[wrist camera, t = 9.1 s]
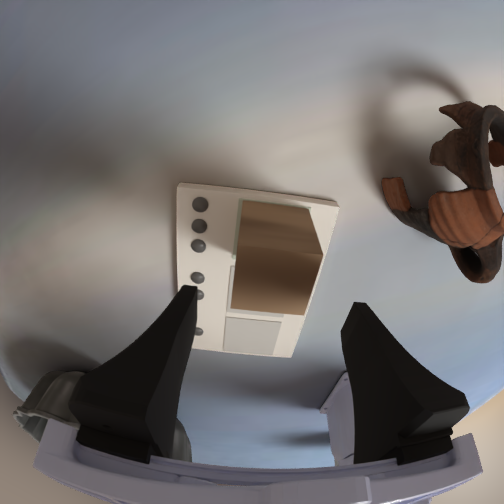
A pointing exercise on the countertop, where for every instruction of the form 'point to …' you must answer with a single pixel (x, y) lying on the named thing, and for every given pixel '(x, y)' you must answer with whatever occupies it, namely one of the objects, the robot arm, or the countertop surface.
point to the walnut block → (275, 259)
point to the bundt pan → (56, 407)
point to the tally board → (223, 265)
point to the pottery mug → (463, 192)
